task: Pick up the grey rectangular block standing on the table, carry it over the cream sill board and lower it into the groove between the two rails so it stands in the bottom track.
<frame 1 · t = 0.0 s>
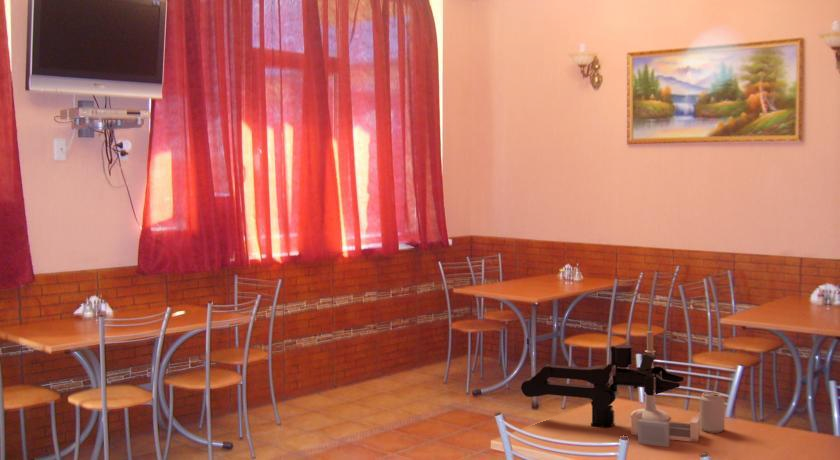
hand: (681, 381, 265), 17 cm above the table, tool horizontal, fingers open, 9 cm apart
can: (712, 430, 269), on the table
track: (665, 434, 265), on the table
candlestick: (650, 417, 285), on the table
grey rectangular block: (653, 443, 256), on the table
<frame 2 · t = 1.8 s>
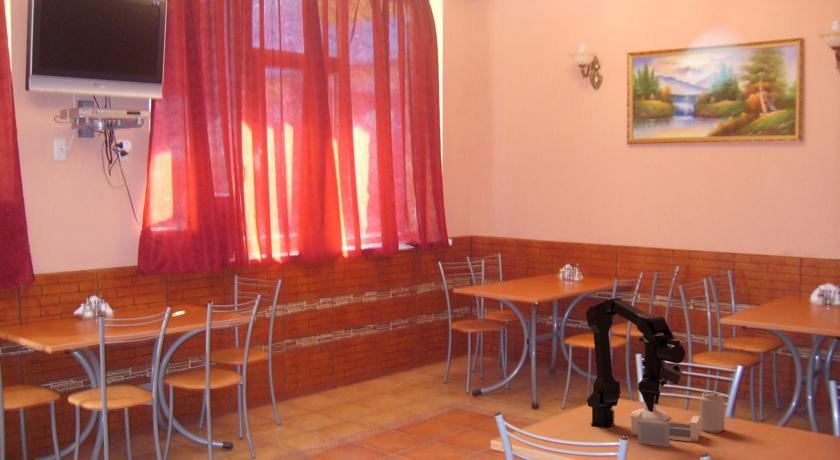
hand: (653, 407, 255), 11 cm above the table, tool pointing down, fingers open, 9 cm apart
nothing on the table moved.
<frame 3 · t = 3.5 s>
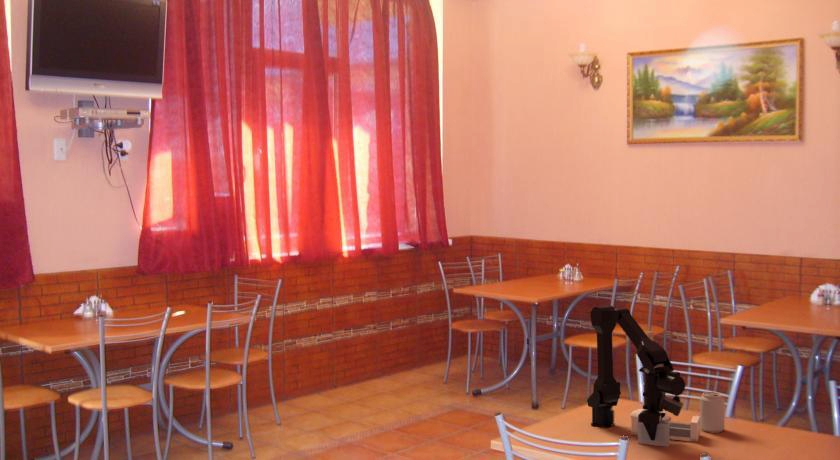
hand: (653, 438, 256), 2 cm above the table, tool pointing down, fingers closed on grey rectangular block, 3 cm apart
grey rectangular block: (653, 443, 256), on the table, touching gripper
everything else where it was.
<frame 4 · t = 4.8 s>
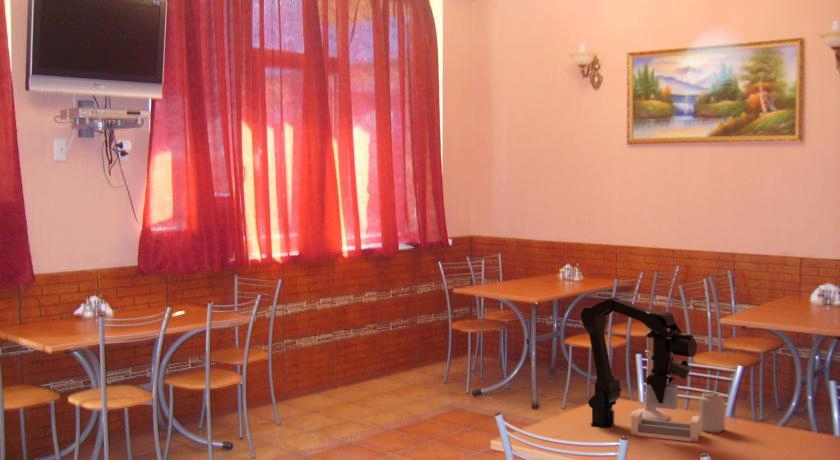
hand: (661, 401, 261), 11 cm above the table, tool pointing down, fingers closed on grey rectangular block, 3 cm apart
grey rectangular block: (661, 406, 261), point 10 cm above the table, touching gripper
everything else where it was.
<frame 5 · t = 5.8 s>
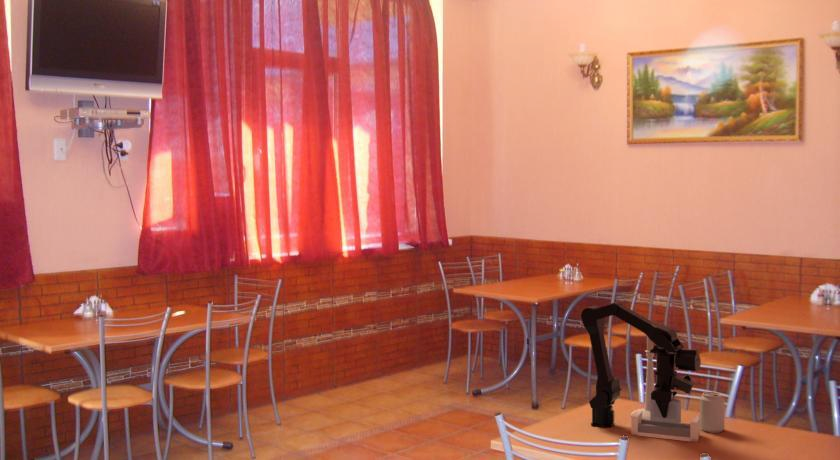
hand: (665, 416, 264), 6 cm above the table, tool pointing down, fingers closed on grey rectangular block, 3 cm apart
grey rectangular block: (665, 421, 264), point 4 cm above the table, touching gripper
everything else where it was.
when the fingers open (4 cm above the table, at t = 6.4 s): grey rectangular block drops 1 cm, resting on track.
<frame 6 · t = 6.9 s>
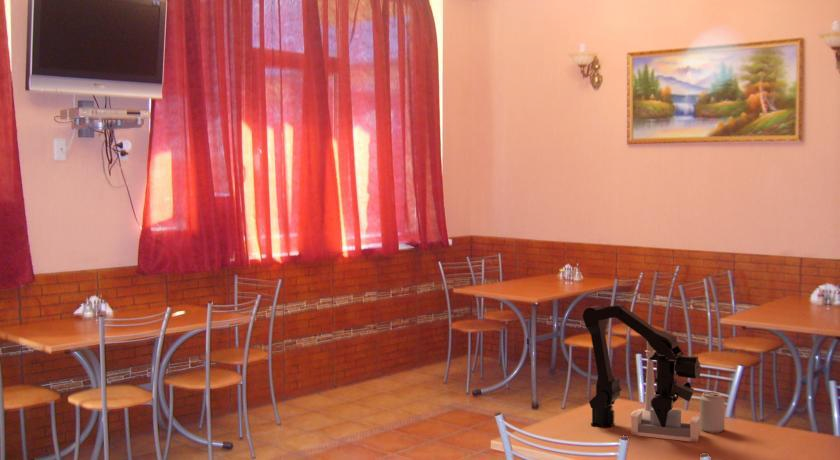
hand: (665, 423, 264), 4 cm above the table, tool pointing down, fingers open, 8 cm apart
grey rectangular block: (665, 431, 264), point 1 cm above the table, touching track
everything else where it was.
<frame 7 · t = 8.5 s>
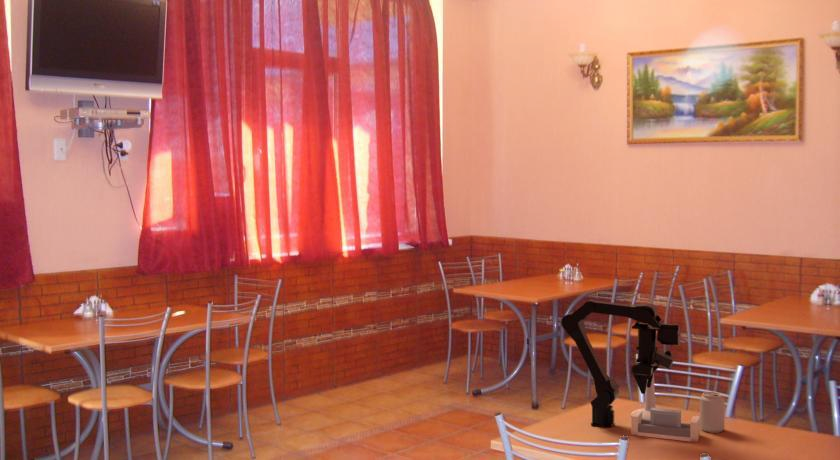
hand: (646, 390, 270), 13 cm above the table, tool pointing down, fingers open, 9 cm apart
nothing on the table moved.
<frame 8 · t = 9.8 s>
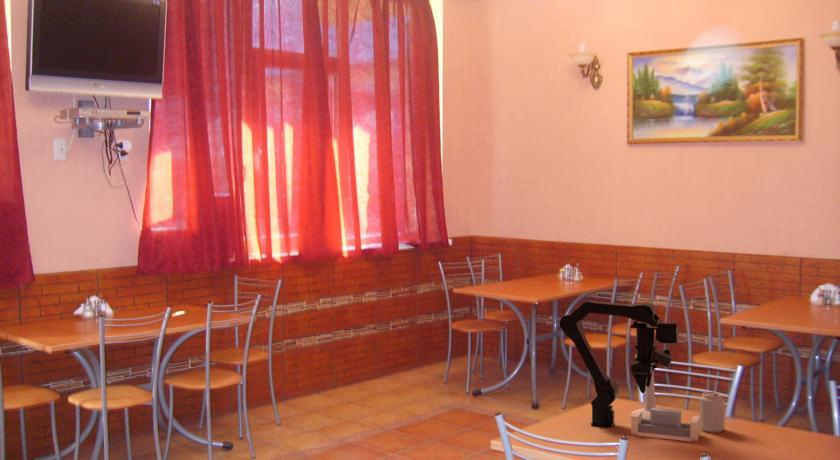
hand: (645, 389, 270), 13 cm above the table, tool pointing down, fingers open, 9 cm apart
nothing on the table moved.
at the end: grey rectangular block inside the target area on the track (0.0 cm from its centre), point 1.0 cm above the track's base; grey rectangular block tilted 0°; the gripper is holding nothing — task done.
